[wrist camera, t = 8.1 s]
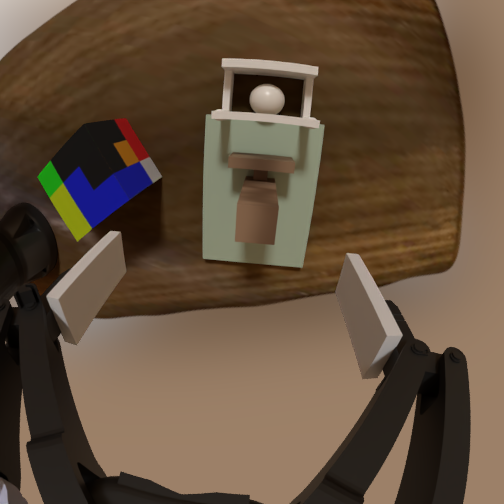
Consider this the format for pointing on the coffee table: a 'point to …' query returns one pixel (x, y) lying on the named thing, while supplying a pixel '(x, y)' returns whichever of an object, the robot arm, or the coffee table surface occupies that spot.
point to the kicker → (258, 196)
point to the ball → (267, 99)
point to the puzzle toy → (97, 173)
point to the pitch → (231, 179)
